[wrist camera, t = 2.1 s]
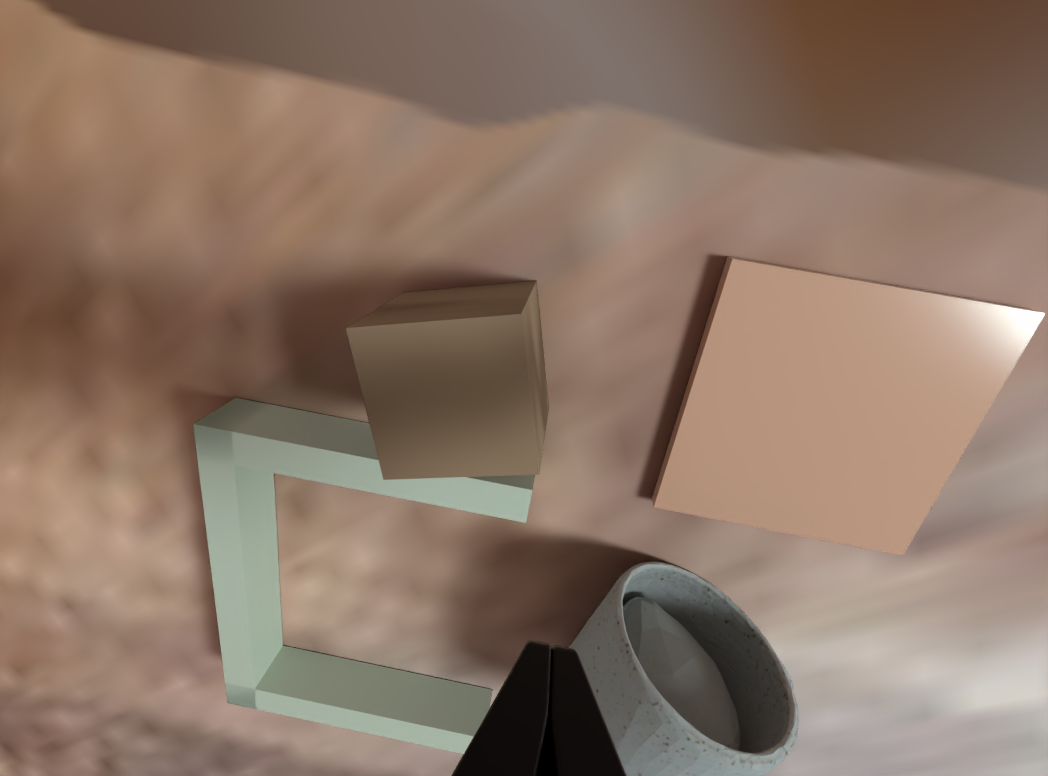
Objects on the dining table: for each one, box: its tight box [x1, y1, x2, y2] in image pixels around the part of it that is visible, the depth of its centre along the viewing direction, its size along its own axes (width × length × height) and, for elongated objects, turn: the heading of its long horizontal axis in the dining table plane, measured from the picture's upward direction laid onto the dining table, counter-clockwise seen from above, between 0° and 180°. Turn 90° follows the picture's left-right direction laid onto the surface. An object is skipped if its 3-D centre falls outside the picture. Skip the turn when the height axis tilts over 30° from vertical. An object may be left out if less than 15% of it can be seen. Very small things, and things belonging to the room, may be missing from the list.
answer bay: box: [193, 398, 535, 754], centre depth 23 cm, size 16×13×2 cm
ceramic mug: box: [568, 562, 798, 776], centre depth 20 cm, size 11×8×8 cm
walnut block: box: [346, 281, 549, 480], centre depth 17 cm, size 5×5×5 cm
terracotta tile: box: [652, 256, 1045, 556], centre depth 18 cm, size 10×10×1 cm
